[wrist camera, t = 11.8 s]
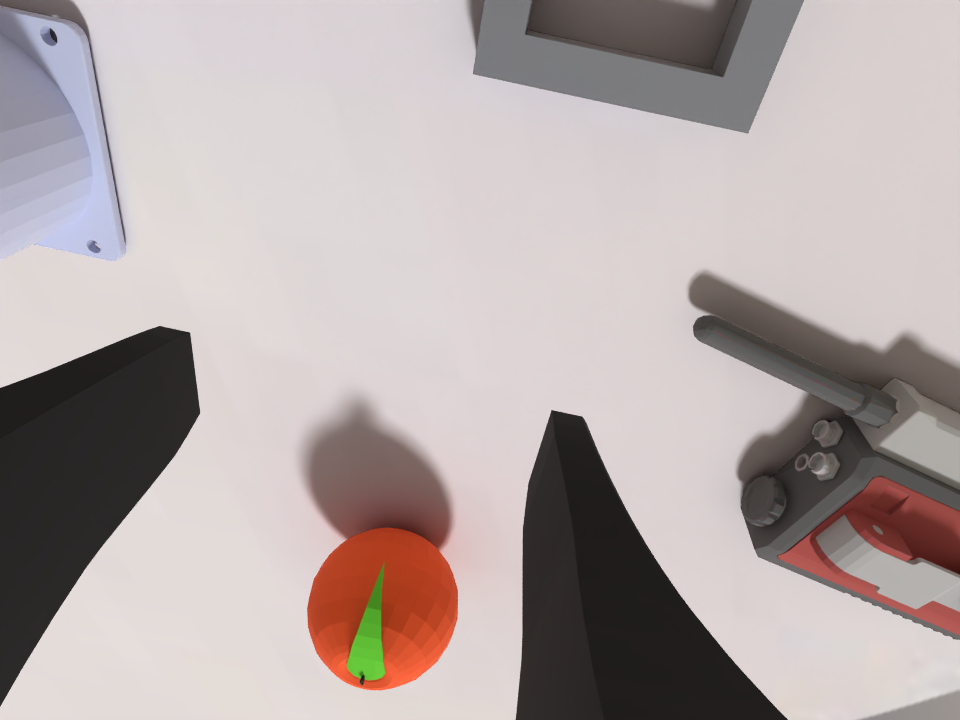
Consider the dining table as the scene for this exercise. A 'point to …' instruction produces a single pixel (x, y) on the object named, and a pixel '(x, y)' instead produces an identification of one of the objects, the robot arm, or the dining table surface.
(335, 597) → the clementine
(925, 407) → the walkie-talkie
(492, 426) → the dining table surface
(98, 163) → the robot arm
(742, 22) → the frame
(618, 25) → the dining table surface
